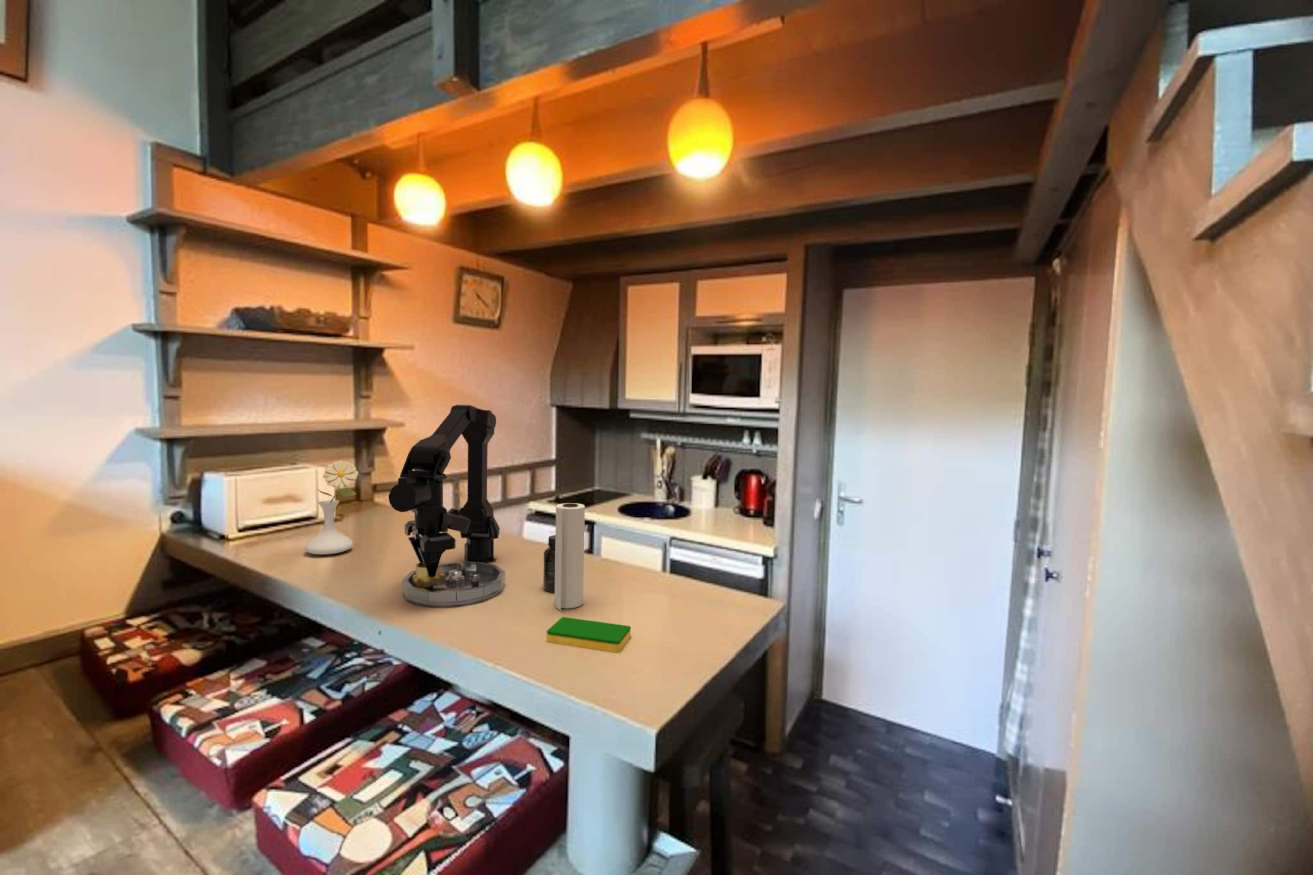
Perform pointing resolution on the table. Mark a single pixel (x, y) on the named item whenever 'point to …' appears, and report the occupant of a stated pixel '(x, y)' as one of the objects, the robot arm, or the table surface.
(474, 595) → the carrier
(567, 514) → the paper towel roll
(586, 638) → the dish sponge
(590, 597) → the table surface
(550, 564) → the supplement bottle
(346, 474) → the flower in vase
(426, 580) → the planet gear
